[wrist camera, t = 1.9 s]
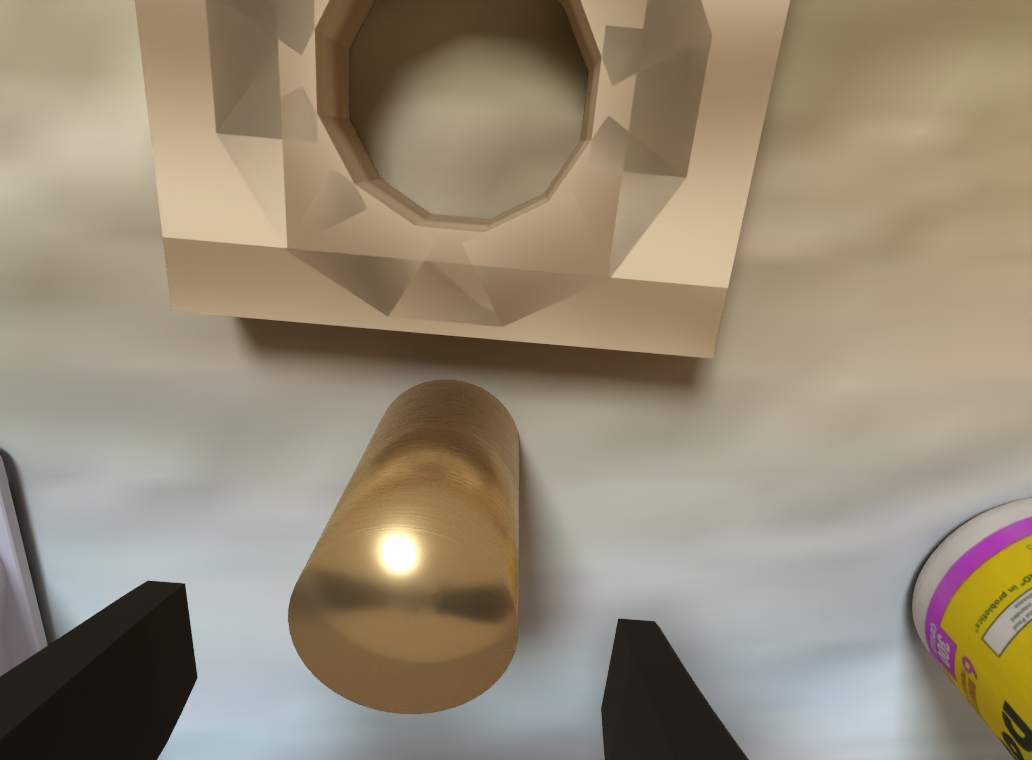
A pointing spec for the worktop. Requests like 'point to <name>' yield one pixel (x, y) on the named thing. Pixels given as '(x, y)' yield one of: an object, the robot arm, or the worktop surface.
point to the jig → (446, 239)
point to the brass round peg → (419, 558)
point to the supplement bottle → (984, 618)
